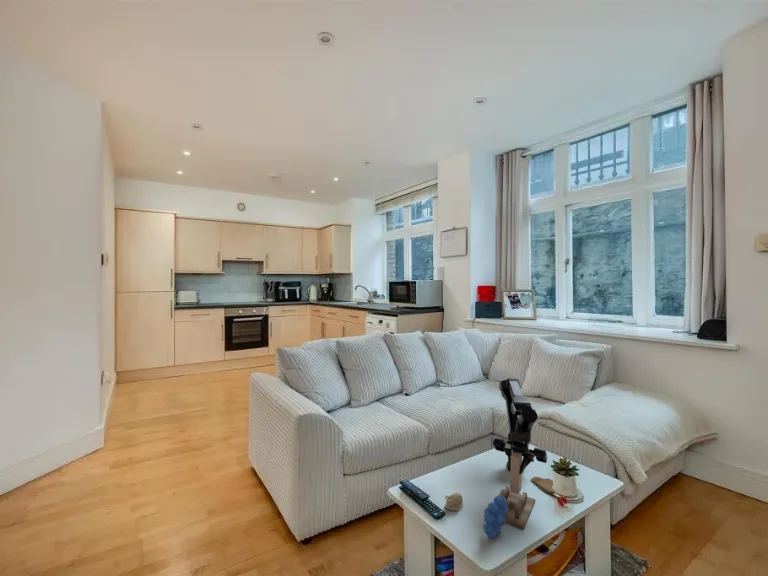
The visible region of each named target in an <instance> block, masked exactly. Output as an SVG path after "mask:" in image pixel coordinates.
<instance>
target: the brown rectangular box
mask: <svg viewBox="0 0 768 576" xmlns="http://www.w3.org/2000/svg"><path fill="white" fill-rule="evenodd" d="M522 460H523V456H522V454H519V453H516V452H513V454H512V455H511V469H510V470H509V473H510V478H509V485H510V486H509V487H510V490H509V491H510V492H513V493H516V494H521V491H522V481H523V479H522V477H523V476H522V475H523V473H522V474H521V475H520V474H519V472H520V467H521V463H522Z"/></svg>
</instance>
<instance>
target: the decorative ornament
mask: <svg viewBox="0 0 768 576" xmlns="http://www.w3.org/2000/svg"><path fill="white" fill-rule="evenodd" d="M444 499H445V500H446V502H445V505H444V506H443V508H446V509H447V510H450V511H456V512H459V511H460V510H462V507H464V506H463V505H464V503H463V502H464V500H463V499H464V498H463V495H462V494H461V493H460V492H454V493H451V494H450V495H445V496H444Z"/></svg>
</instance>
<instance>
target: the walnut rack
mask: <svg viewBox="0 0 768 576" xmlns="http://www.w3.org/2000/svg"><path fill="white" fill-rule="evenodd" d="M497 496H500V497H504V498H505V499H506V502H507V505H506V506H507V508H508V513H507V514H506V515H503V516H504V517H505V520H506V524H508V525H509V526H512V527H515V528H517V529H520V530H524V529H525V528H526V525H527V522H528V520H529V518H530V516H531V514H532V512H533V511H532V510H533V508H534V506H535V503H536V499H535V498H534V497H529V496H528V492H525V491H523V492H522V494H521V493H519V494H516V493H513V492H510V486H505V488H501V489H500V492H499V493H498V494H497Z"/></svg>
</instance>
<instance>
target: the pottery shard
mask: <svg viewBox="0 0 768 576" xmlns="http://www.w3.org/2000/svg"><path fill="white" fill-rule="evenodd" d="M530 482H531V483H533V484H534V485H535V486H536V487H538V488H539V489H540V490H542V491H543V492H545V493H548V494H550V495H551V494H554V493H555V492H554V491H553V489H552V486H553V479H550V478H543V477H540V476H533V477H531V478H530Z"/></svg>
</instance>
